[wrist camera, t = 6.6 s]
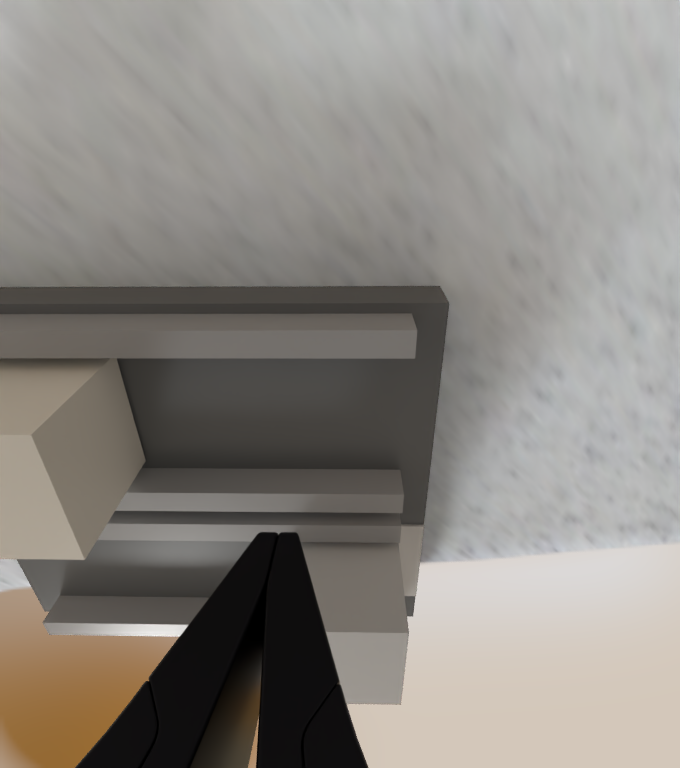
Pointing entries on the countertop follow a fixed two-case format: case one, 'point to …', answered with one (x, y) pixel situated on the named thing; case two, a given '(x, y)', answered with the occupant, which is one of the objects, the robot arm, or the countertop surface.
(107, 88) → the countertop surface
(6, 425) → the beige cube
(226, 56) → the countertop surface
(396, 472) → the switch board
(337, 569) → the light grey cube
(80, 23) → the countertop surface
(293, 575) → the robot arm
